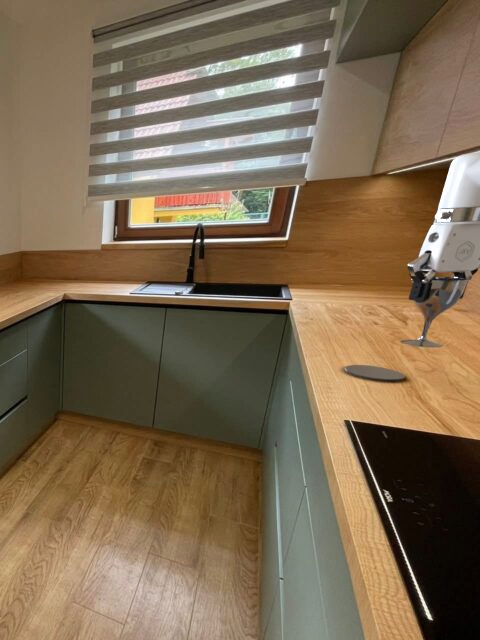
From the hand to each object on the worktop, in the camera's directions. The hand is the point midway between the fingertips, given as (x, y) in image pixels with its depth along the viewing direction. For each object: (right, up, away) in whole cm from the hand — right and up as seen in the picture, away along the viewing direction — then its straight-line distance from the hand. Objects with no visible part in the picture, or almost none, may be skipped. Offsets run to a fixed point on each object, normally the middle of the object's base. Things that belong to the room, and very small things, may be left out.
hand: (434, 298), depth 97 cm
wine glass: (+1, -10, +4) cm, 11 cm away
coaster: (-11, -17, +3) cm, 21 cm away
